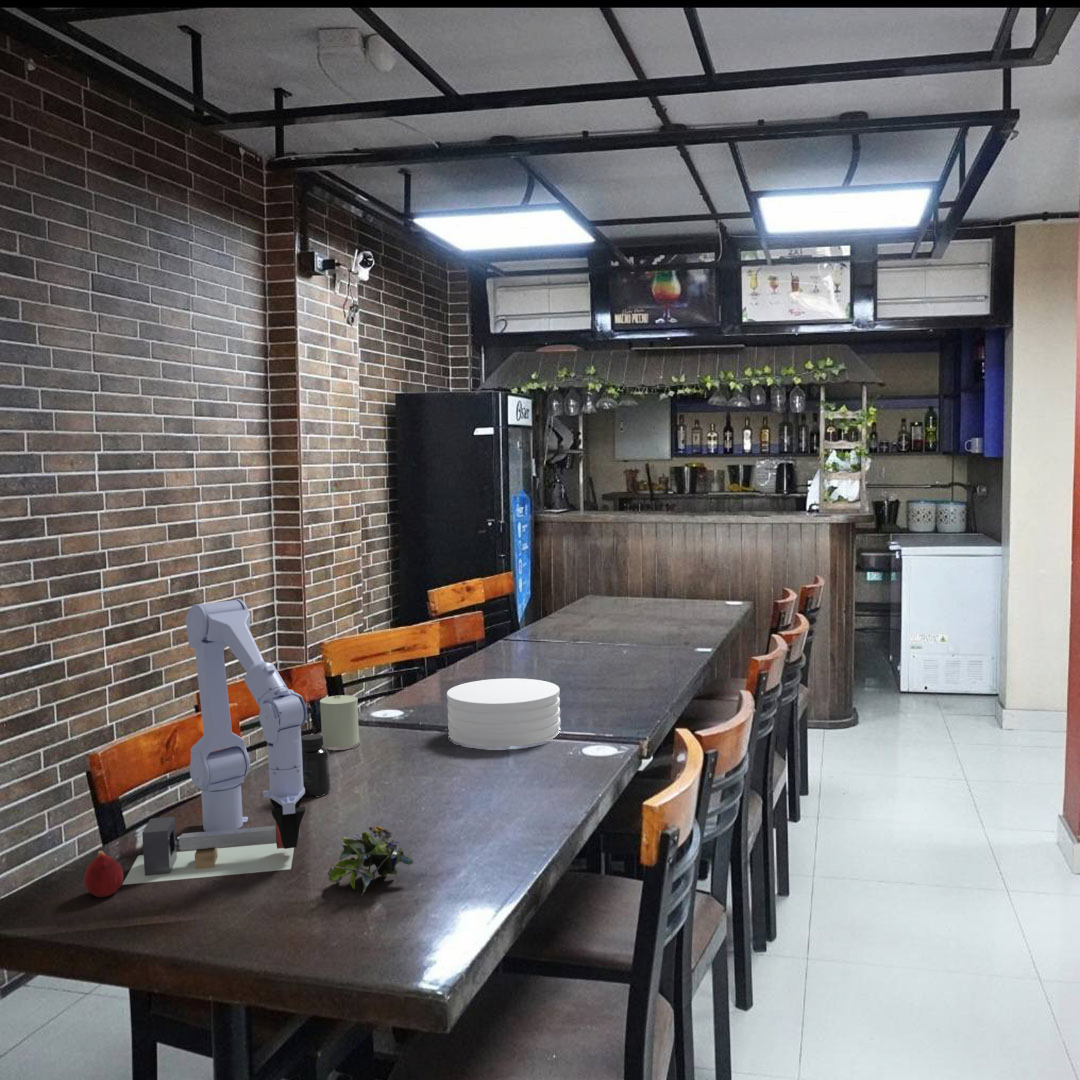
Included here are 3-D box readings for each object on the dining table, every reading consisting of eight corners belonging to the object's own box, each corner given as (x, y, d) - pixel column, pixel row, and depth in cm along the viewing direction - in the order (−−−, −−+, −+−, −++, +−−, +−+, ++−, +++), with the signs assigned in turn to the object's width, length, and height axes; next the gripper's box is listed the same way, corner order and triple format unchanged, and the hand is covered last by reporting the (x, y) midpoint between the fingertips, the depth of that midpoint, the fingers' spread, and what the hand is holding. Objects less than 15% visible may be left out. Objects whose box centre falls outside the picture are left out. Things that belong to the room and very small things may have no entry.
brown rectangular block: (199, 858, 183) (199, 844, 183) (217, 856, 184) (216, 842, 184) (195, 868, 178) (194, 854, 178) (213, 867, 179) (213, 853, 179)
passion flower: (383, 908, 175) (424, 849, 176) (363, 925, 165) (406, 862, 165) (331, 867, 178) (371, 808, 178) (307, 881, 167) (350, 818, 167)
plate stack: (583, 737, 259) (581, 691, 258) (485, 758, 243) (484, 709, 242) (521, 715, 282) (519, 673, 281) (428, 733, 267) (426, 689, 266)
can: (356, 739, 263) (354, 691, 262) (362, 748, 254) (360, 699, 253) (319, 743, 260) (317, 695, 259) (324, 752, 251) (321, 703, 250)
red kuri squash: (129, 891, 172) (126, 843, 172) (117, 906, 167) (113, 857, 166) (93, 892, 172) (90, 845, 172) (79, 907, 166) (76, 858, 166)
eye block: (152, 860, 183) (150, 818, 182) (176, 858, 184) (174, 816, 183) (144, 875, 176) (142, 832, 175) (169, 873, 177) (167, 830, 176)
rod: (177, 851, 183) (176, 823, 182) (300, 840, 186) (299, 813, 186) (172, 862, 178) (171, 833, 177) (299, 850, 181) (298, 822, 181)
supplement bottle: (314, 786, 226) (312, 731, 225) (337, 791, 222) (334, 735, 221) (290, 795, 220) (287, 738, 219) (312, 800, 216) (310, 743, 215)
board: (138, 861, 185) (138, 855, 185) (295, 847, 190) (295, 841, 190) (122, 890, 173) (122, 884, 173) (291, 874, 177) (290, 868, 177)
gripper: (260, 756, 188) (264, 830, 189) (262, 779, 174) (266, 859, 175) (301, 752, 190) (304, 825, 191) (306, 775, 176) (309, 854, 177)
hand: (289, 841), depth 183 cm, fingers closed on rod, 5 cm apart
